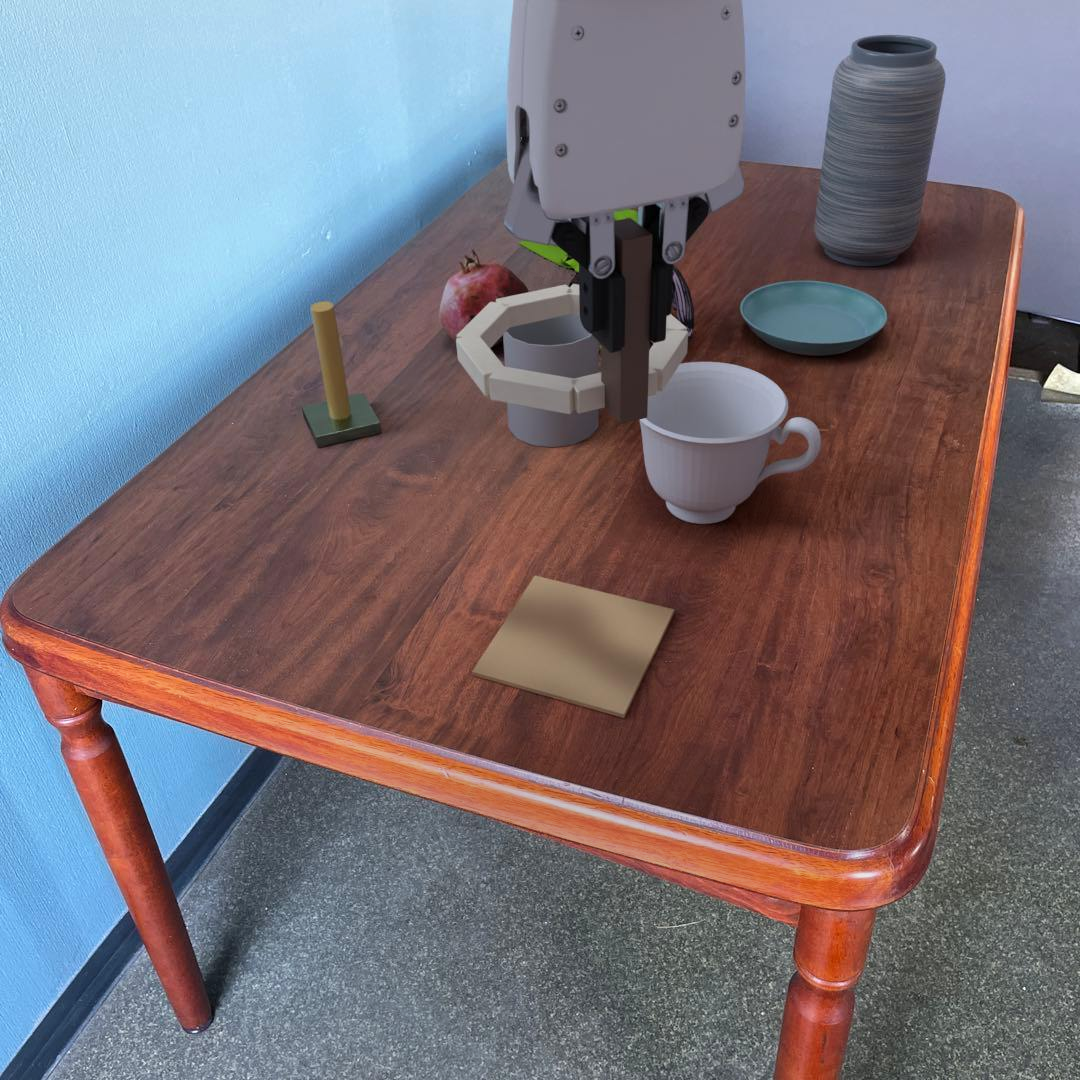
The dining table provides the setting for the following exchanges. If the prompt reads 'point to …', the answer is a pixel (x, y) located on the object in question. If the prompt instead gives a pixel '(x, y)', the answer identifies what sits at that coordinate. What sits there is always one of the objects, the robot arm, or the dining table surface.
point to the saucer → (812, 316)
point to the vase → (878, 148)
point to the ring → (622, 371)
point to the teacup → (717, 438)
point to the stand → (336, 389)
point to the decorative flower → (679, 299)
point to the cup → (557, 353)
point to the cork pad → (576, 645)
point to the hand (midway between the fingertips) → (625, 333)
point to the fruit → (475, 293)
